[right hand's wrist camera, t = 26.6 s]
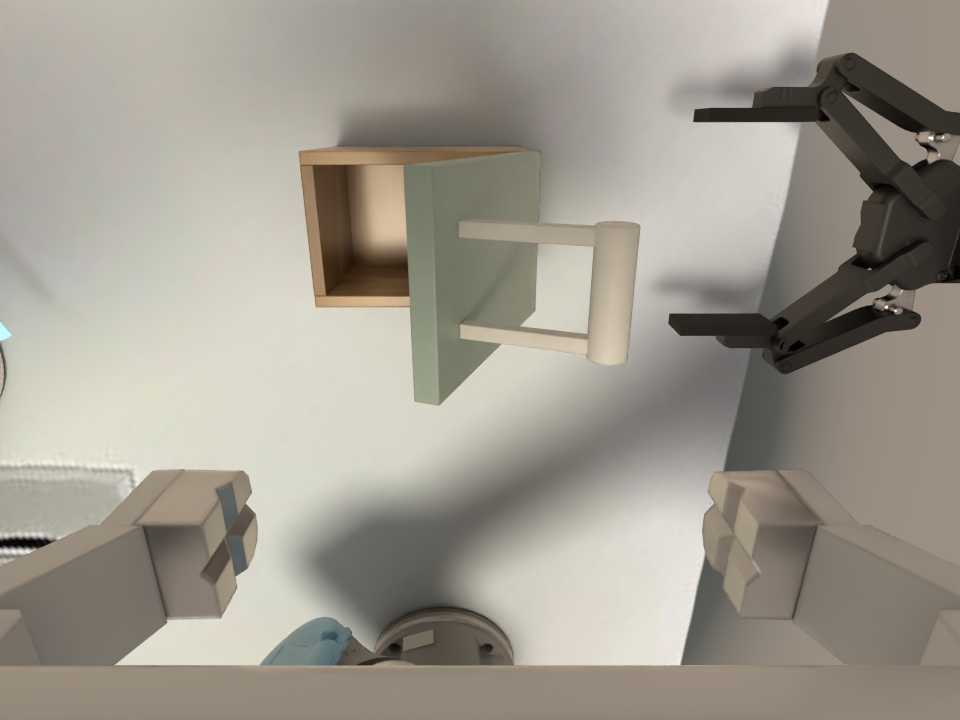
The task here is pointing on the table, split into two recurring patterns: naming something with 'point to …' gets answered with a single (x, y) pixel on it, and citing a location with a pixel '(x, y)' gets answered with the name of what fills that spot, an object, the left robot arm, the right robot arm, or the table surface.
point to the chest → (364, 219)
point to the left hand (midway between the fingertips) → (686, 226)
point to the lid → (499, 269)
